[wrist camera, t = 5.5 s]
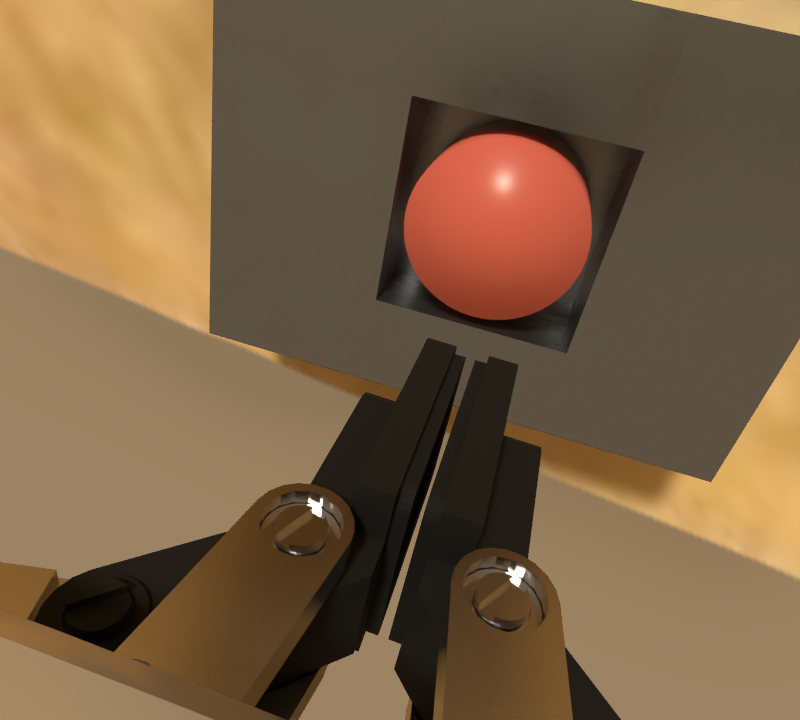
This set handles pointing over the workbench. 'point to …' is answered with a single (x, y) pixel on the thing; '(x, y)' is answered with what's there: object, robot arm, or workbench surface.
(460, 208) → the button
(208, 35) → the workbench surface
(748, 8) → the workbench surface
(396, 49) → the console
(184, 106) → the workbench surface
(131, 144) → the workbench surface
